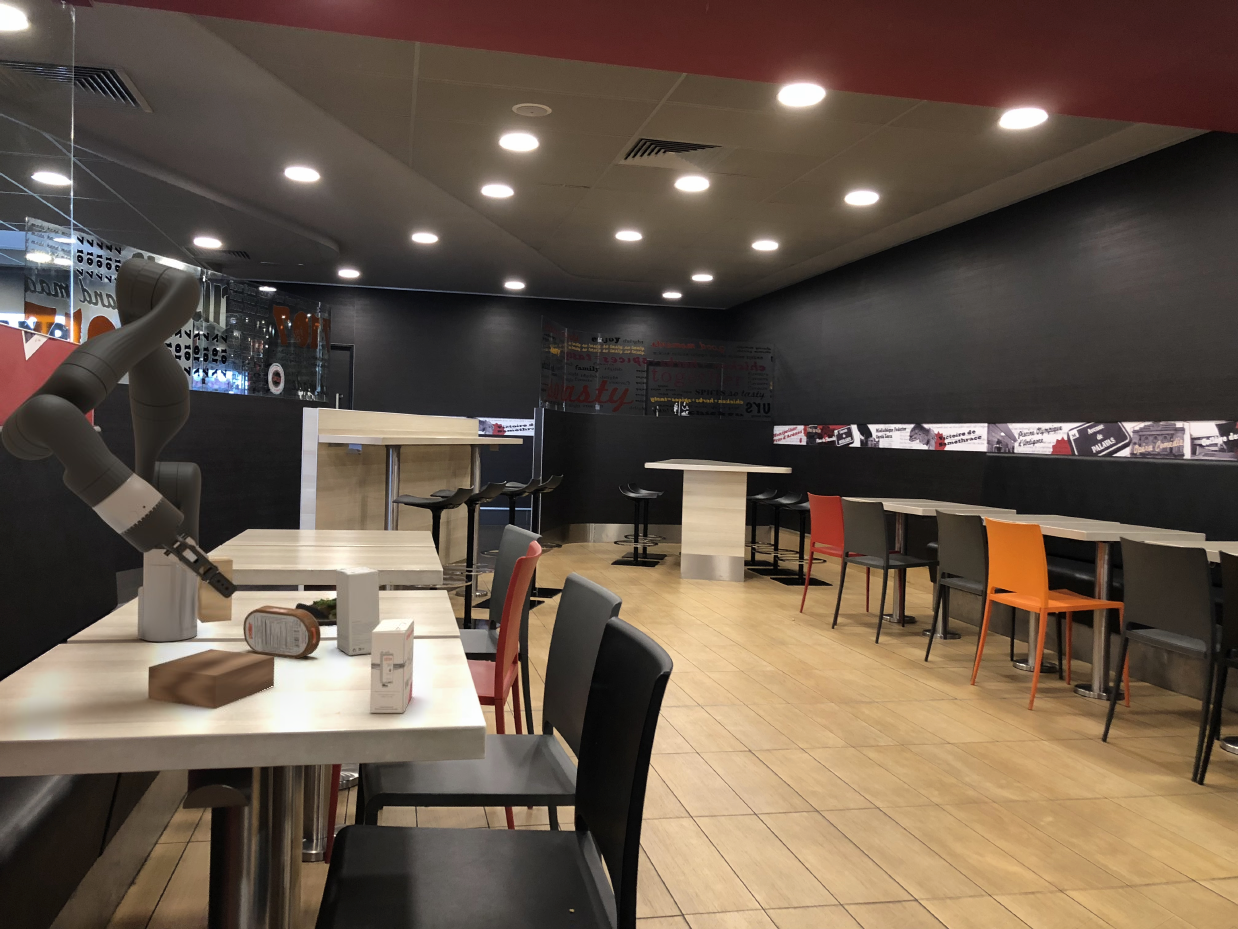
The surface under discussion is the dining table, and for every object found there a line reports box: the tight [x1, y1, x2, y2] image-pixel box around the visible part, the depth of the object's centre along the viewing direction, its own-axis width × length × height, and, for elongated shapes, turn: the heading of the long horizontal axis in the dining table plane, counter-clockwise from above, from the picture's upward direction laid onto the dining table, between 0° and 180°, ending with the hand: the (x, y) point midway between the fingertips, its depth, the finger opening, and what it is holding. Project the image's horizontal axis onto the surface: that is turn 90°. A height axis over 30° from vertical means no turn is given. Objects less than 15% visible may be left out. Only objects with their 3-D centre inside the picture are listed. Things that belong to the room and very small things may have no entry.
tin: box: [242, 604, 322, 659], centre depth 150 cm, size 15×3×8 cm, turn 71°
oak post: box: [197, 556, 234, 624], centre depth 127 cm, size 4×4×9 cm
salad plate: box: [293, 597, 337, 627], centre depth 184 cm, size 19×18×5 cm
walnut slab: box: [147, 648, 275, 710], centre depth 127 cm, size 12×12×5 cm
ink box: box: [369, 618, 415, 714], centre depth 124 cm, size 9×5×12 cm, turn 5°
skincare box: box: [335, 566, 380, 656], centre depth 155 cm, size 8×6×15 cm
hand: (228, 591), depth 128 cm, fingers closed on oak post, 4 cm apart
